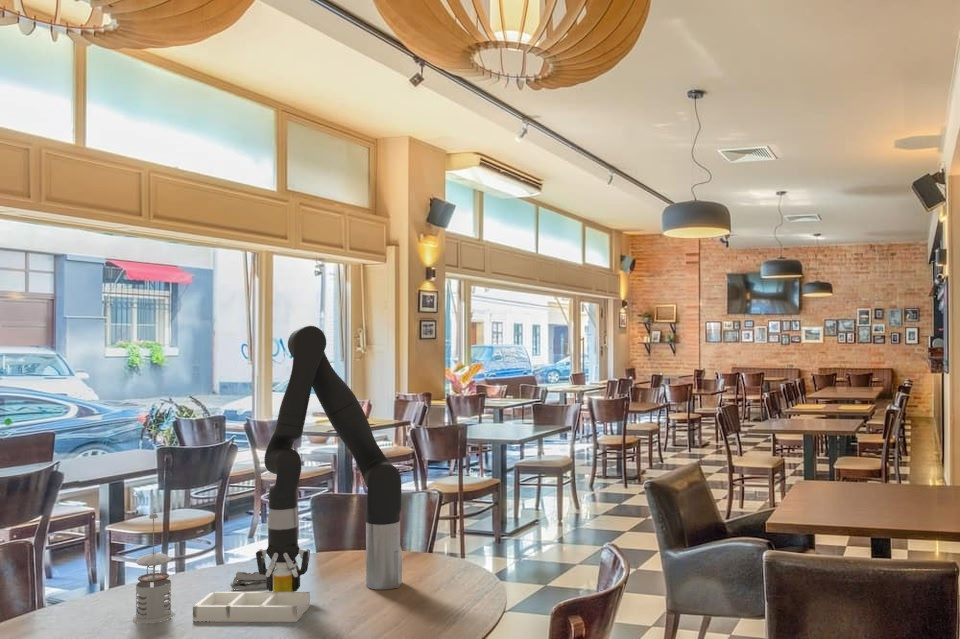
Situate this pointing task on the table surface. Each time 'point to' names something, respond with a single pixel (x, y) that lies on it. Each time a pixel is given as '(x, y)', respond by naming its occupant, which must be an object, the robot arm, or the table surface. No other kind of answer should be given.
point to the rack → (251, 607)
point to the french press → (153, 589)
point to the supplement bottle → (282, 578)
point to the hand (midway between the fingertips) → (283, 590)
